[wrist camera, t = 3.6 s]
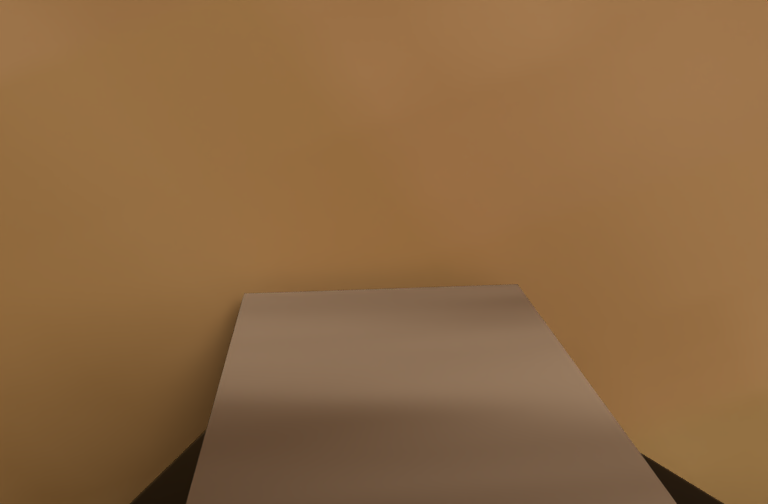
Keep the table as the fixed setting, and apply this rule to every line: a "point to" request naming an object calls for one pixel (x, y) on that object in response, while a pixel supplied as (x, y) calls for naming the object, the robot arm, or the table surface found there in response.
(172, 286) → the table surface
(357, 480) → the taupe block mallet
